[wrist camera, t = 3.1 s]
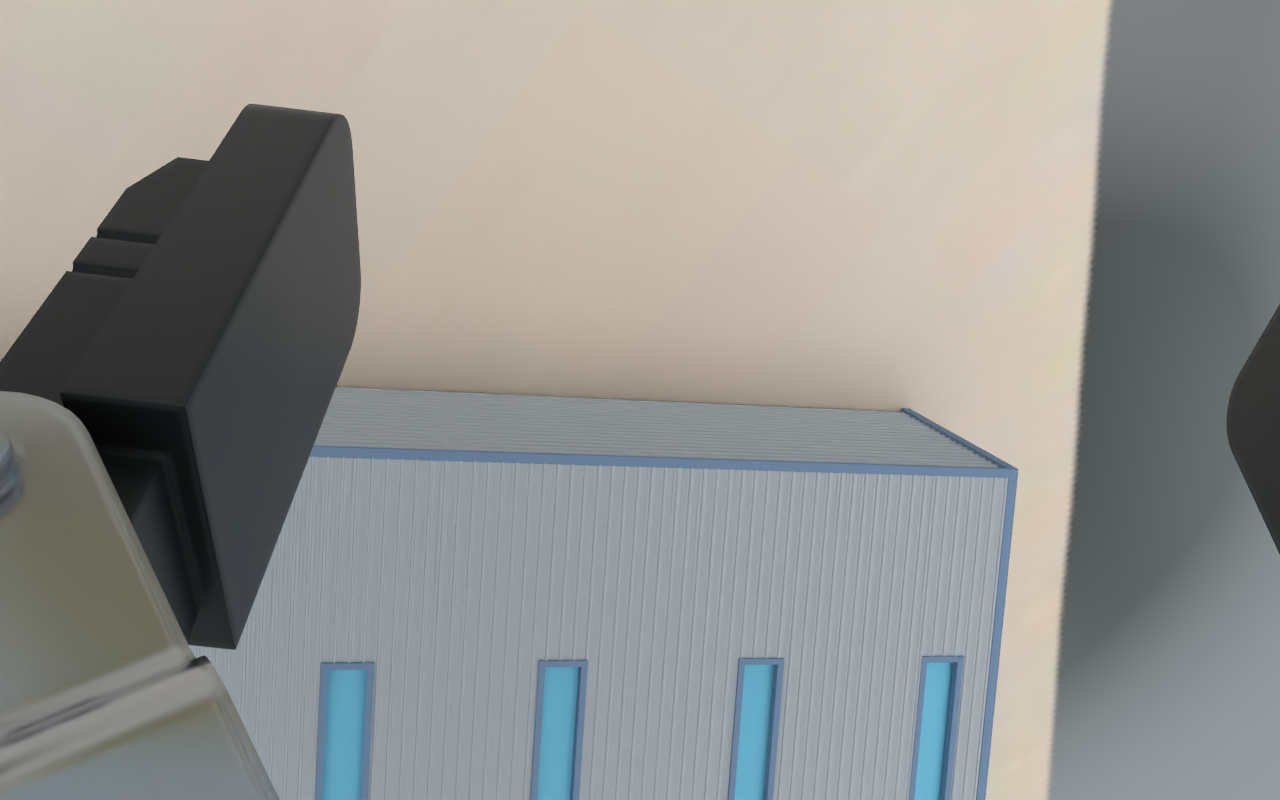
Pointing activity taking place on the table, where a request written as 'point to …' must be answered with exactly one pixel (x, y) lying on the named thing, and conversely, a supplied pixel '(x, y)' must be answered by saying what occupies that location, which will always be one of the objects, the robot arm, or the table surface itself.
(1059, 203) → the table surface
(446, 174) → the table surface
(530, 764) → the warehouse
